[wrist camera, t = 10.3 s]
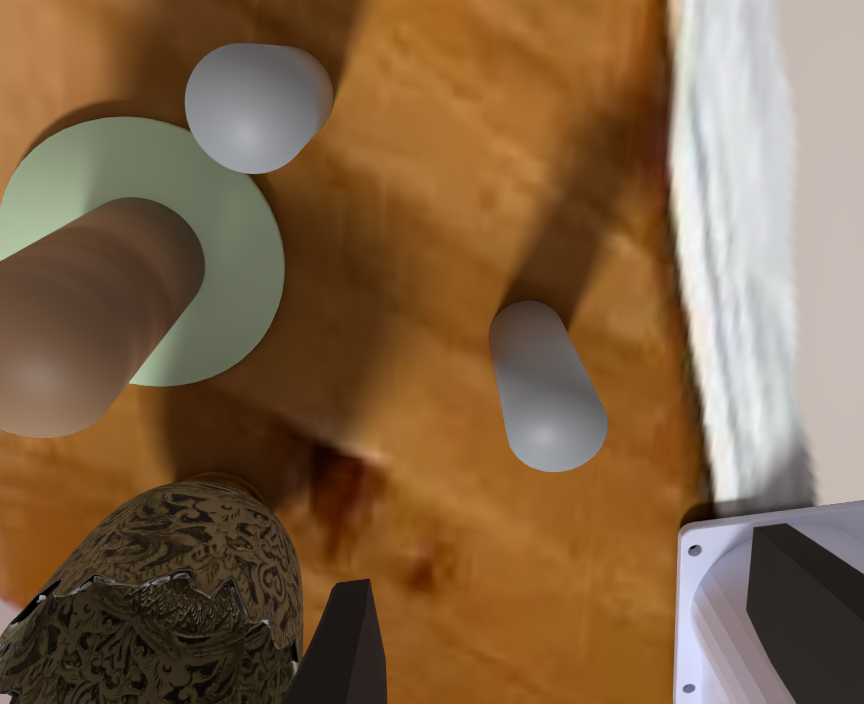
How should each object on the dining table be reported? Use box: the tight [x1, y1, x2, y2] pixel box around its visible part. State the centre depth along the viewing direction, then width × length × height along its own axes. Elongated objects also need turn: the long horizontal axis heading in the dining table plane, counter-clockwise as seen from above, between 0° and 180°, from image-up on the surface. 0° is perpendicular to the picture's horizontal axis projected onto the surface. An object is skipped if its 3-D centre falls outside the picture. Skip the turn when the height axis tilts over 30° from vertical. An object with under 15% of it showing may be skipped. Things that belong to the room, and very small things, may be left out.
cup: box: [0, 472, 303, 704], centre depth 21 cm, size 8×7×8 cm
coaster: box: [0, 116, 285, 386], centre depth 20 cm, size 8×8×1 cm
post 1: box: [185, 43, 334, 174], centre depth 16 cm, size 2×2×6 cm
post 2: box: [489, 300, 608, 472], centre depth 19 cm, size 2×2×6 cm
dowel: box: [0, 197, 205, 438], centre depth 17 cm, size 4×4×7 cm
